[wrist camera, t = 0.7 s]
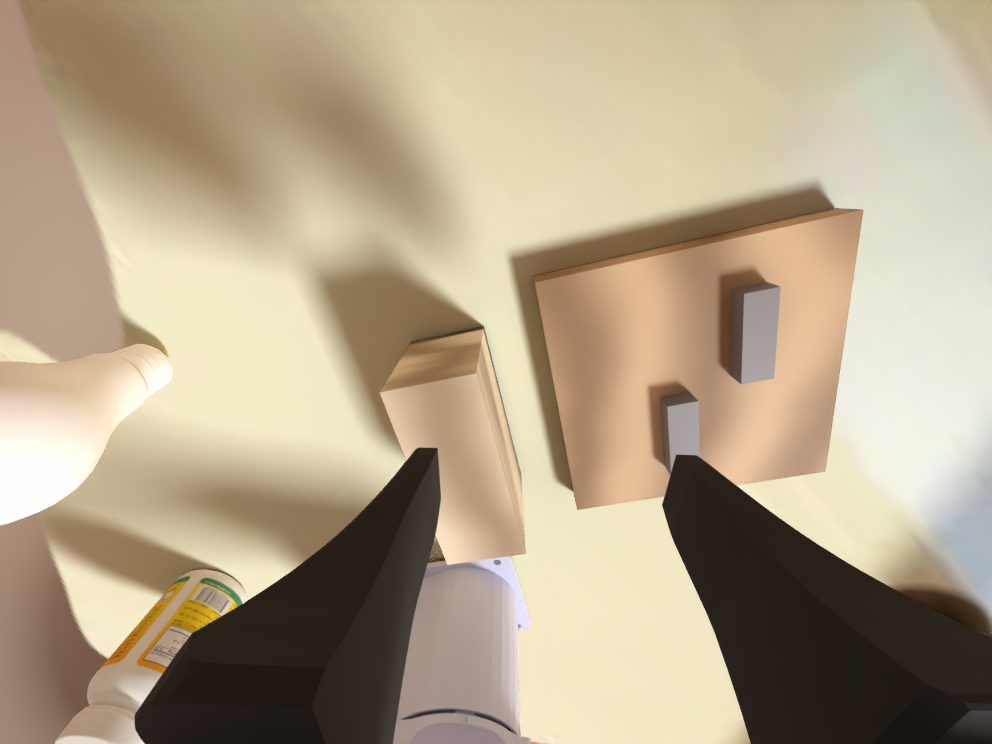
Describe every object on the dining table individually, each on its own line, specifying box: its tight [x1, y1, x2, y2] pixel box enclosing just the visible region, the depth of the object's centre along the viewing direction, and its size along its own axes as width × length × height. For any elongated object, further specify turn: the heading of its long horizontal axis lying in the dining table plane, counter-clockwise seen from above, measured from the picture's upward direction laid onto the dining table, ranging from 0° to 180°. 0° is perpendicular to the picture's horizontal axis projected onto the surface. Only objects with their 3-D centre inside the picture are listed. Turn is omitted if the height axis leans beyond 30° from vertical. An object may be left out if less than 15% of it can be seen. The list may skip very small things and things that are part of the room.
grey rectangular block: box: [730, 282, 781, 385], centre depth 18 cm, size 2×4×1 cm, turn 13°
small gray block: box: [660, 392, 700, 475], centre depth 21 cm, size 2×4×1 cm, turn 13°
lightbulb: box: [0, 344, 173, 525], centre depth 17 cm, size 6×6×11 cm
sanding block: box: [380, 326, 526, 565], centre depth 20 cm, size 4×10×6 cm, turn 13°
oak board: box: [533, 208, 863, 510], centre depth 21 cm, size 14×14×2 cm
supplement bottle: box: [55, 569, 247, 744], centre depth 26 cm, size 5×5×10 cm
